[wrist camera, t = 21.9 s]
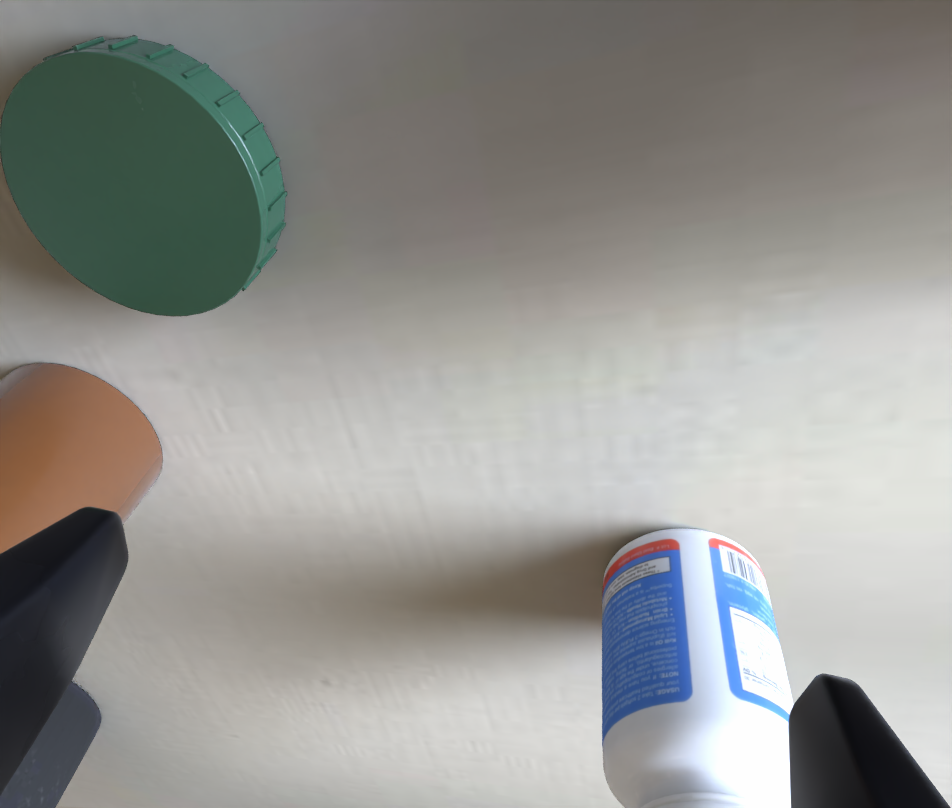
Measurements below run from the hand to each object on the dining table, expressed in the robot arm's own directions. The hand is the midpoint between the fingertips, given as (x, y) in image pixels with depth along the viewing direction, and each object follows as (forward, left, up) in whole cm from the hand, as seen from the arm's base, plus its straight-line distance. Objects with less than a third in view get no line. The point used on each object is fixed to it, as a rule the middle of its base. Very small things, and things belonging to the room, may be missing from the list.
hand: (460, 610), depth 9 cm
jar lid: (-2, -10, -11) cm, 15 cm away
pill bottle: (+13, +4, -12) cm, 18 cm away
